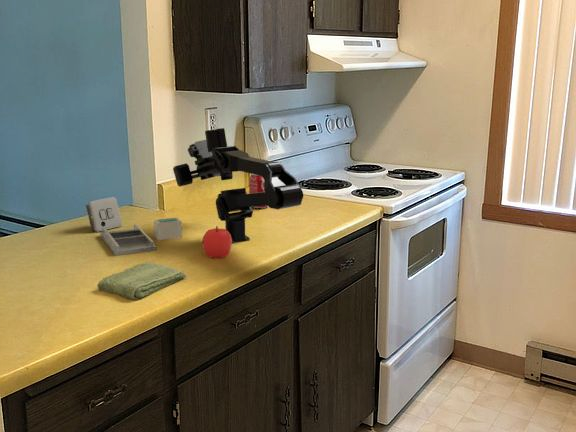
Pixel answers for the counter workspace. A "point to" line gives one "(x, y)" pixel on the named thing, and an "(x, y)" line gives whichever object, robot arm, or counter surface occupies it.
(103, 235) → the grey tray
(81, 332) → the counter surface
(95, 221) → the electrical switch
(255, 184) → the soda can
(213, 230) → the apple
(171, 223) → the module
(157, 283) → the washcloth
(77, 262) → the counter surface
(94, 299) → the counter surface
